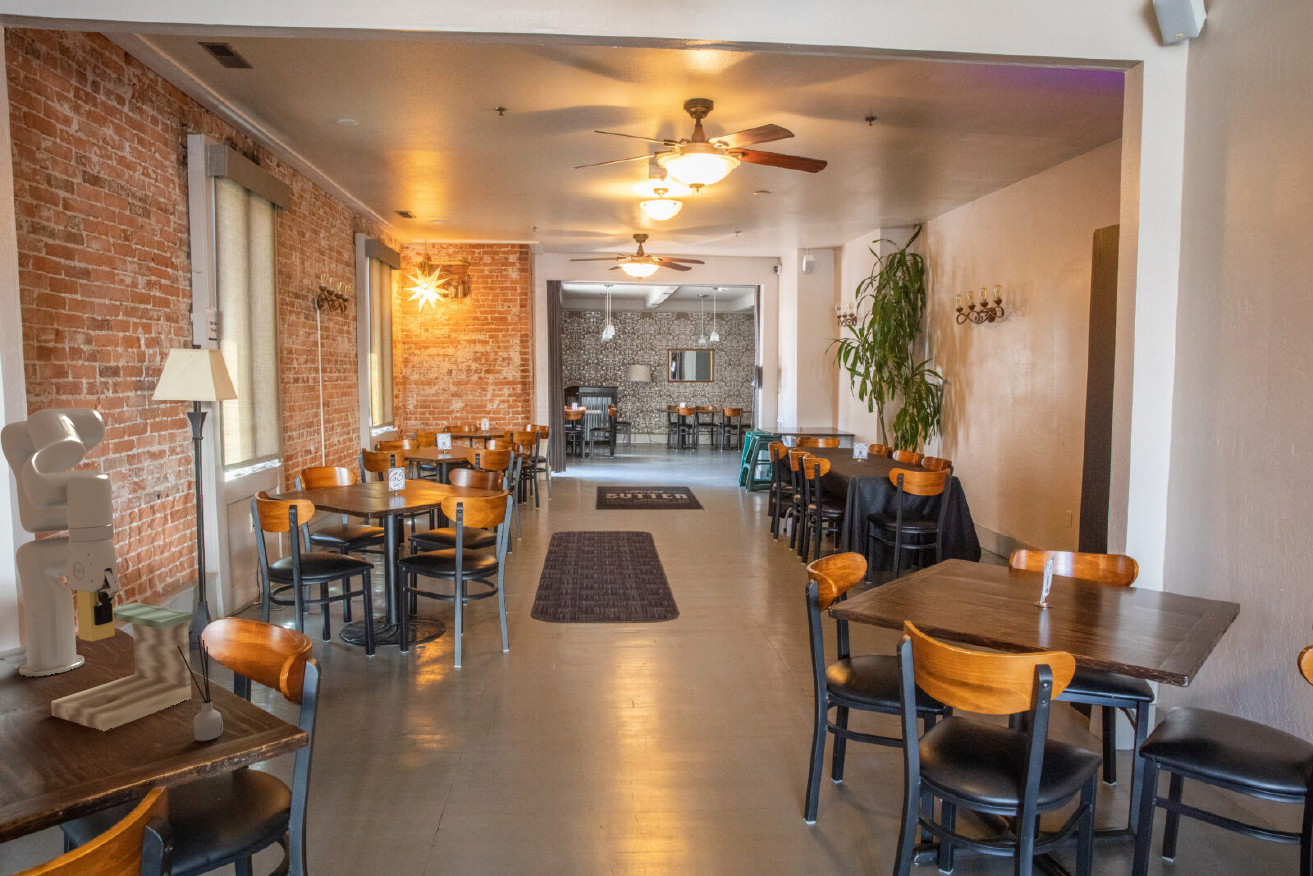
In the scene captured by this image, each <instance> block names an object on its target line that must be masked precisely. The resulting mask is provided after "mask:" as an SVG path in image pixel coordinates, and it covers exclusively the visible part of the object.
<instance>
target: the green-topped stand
mask: <svg viewBox="0 0 1313 876" xmlns="http://www.w3.org/2000/svg"><path fill="white" fill-rule="evenodd" d="M113 612H114V621H115V620H116V621H120V622H125V623H129V624H132V635H133V636H132V639H133V640H132V641H133V660H134V674H131V675H129V676H126V677H122V678H119V679H117V680H112V681H111V682H108V683H105V684H104V683H103V684H101V685H98V686H94V687H91V688H89V689H85V690H82V691H79V692H76V693H73V694H70V695H67V696H63V697H60V698H57V699H55V700H52V701H50V706H51V716H52V717H56V718H59V719H62V720H66V721H69V722H73V723H76V724H78V723H79V724H78V725H80V726H85V727H88V728H92V729H94V728H96V729H95V730H97V729H99V730H98V731H101V730H102V731H101V732H106V730H107V731H109V730H108V729H110V728H112V729H115V728H117V727H120V726H123V725H125V723H126V724H128V723H131V722H133V721H136V720H139V719H141V718H143V717H147V716H150V715H153V714H154V713H157V711H158V712H160V711H164V710H166V709H168V707H169V708H171V707H173V706H172V705H174V706H176V704H177V705H179V704H181V703H180V702H182V701H184V700H187V701H190V700H192V683H191V678H192V676H191V673H190V671H189V669H188V667H187V665H186V663H185V661H184V659H183V657H182V655H181V653H180V651H179V649H178V647H177V646H179V647H180V649H181V651H182V653H183V655H184V657H185V659H186V661H187V663H188V665H189V667H190V668H191V661H190V659H191V658H190V657H191V656H190V641H189V640H190V639H189V637H190V635H189V622H191V621H194V613H193V612H188V611H182V610H179V609H178V610H177V609H172V608H167V607H162V606H161V607H160V606H155V605H152V604H151V605H149V604H145V603H140V602H133V603H129V604H124V605H120V606H116V607H113ZM189 699H190V700H189ZM178 703H179V704H178ZM182 703H183V702H182ZM170 706H171V707H170ZM165 708H166V709H165ZM159 710H160V711H159ZM149 714H150V715H149ZM110 730H111V729H110Z"/></svg>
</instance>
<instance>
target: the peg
mask: <svg viewBox="0 0 1313 876" xmlns="http://www.w3.org/2000/svg"><path fill="white" fill-rule="evenodd" d="M101 589H106V586H102V587H101ZM101 589H99V590H101ZM76 591H77V594H76V606H77V608H76V609H77V621H78V622H77V624H78V638H79V640H83V641H87V642H95V641H99V640H103V639H106V638H110V637H113V636H115V635H116V633H115V632H116V631H115V620H114V612H113V608H114V602H113V603H112V614H113V621H112V622H110V623H106V624H102V625H95V619H94V606H97V605H96V602H95V596H94V592H92V593H91V592H84V591H78V590H76ZM104 593H106V592H101V593H100V595H101V597H102V595H103V594H104Z"/></svg>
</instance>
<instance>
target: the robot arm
mask: <svg viewBox="0 0 1313 876" xmlns="http://www.w3.org/2000/svg"><path fill="white" fill-rule="evenodd" d="M105 435H106V423H105V420H104V418H103V416H102V415H101V413H99V411H97V410H96V409H94V408H90V407H89V408H88V407H72V408H71V407H69V408H68V407H66V408H63V407H62V408H61V407H60V408H43V409H40V410H37V411H35V412H33V413H31V414H30V415H29V416H28V418H27V419H26V420H23V421H22V420H21V421H16V422H15V421H14V422H10V423H8V424H6V425H5V426H3V427H2V429H1V430H0V445H1V449H2V453H3V455H4V457H5V460H6V461H7V463H8V465H9V467H10V468H11V470H12V472H13V475H14V477H15V484H16V493H17V502H18V503H17V504H18V512H19V520H20V523H21V527H22V529H23V530H24V531H25V532H27V533H30V534H46V533H53V532H54V533H55V532H63V531H68V535H66V536H65V535H64V536H55V537H46V538H45V537H44V538H40V539H39V538H38V539H35V540H30V541H27V542H25V543H23V544H22V545H21V546H19V548H18V549H17V550H16V553H15V563H16V566H17V570H18V575H19V578H20V579H19V580H20V583H21V590H22V600H23V602H22V603H23V614H24V617H23V619H24V630H25V631H24V633H25V634H24V635H25V648H26V651H24V655H25V657H26V663H24V664H22V665H21V666H20V668H19V669H18V670H19V675H21V676H23V675H25V676H24V677H32V676H34V677H43V676H44V677H46V676H51V674H53V675H56V674H55V673H58V674H62V673H66V672H68V671H71V669H72V670H75V669H77V668H79V667H81V666H82V665H83V664H84V663H85V657H84V656H83V655H81V654H77V644H76V643H77V641H76V624H75V623H76V621H75V607H74V605H75V604H74V595H73V591H72V590H74V592H75V594H76V595H77V591H76V590H78V591H84V592H91V593H92V592H94V596H95V602H96V605H97V606H94V619H95V625H102V624H106V623H110V622H112V621H113V614H112V603H113V604H114V598H115V596H116V595H117V594H118V593H119V587H118V581H119V579H118V575H119V573H118V563H117V555H116V549H115V545H114V541H113V540H115V533H114V515H113V496H112V495H113V494H112V492H113V491H112V490H113V487H112V485H113V484H112V480H111V477H110V476H109V475H108V474H106V472H104V471H103V470H98V469H87V470H70V469H73V468H75V467H76V466H78V465H80V463H81V462H82V461H83V460H84V458H85V455H86V454H87V453H89V452H91V451H92V450H93V449H95V448H96V447H97V446H98V445H99V444H100V443H102V441H103V440H104V438H105ZM68 470H70V471H68ZM61 577H66V584H65V583H63V582H62V581H60V580H59V578H61ZM102 586H106V589H101V587H102ZM99 589H101V590H99ZM101 592H106V593H104V594H103V595H102V597H101V595H100V593H101ZM74 668H75V669H74ZM45 675H46V676H45Z"/></svg>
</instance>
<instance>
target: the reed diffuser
mask: <svg viewBox="0 0 1313 876" xmlns="http://www.w3.org/2000/svg"><path fill="white" fill-rule="evenodd" d="M197 640H198V648H199V655H200V663H201V668H202V669H201V670H202V676H203V677H202V678H203V683H204V691H205V696H204V693H203V692H202V690H201V688H200V686H199V683H198V682H197V679H196V678H195V676H194V674H193V671H192V669H191V666H190V667H189V665H188V663H187V661H186V659H185V657H184V655H183V653H182V651H181V649H180V647H179V646H177V647H178V649H179V651H180V653H181V655H182V657H183V659H184V661H185V663H186V665H187V667H188V669H189V671H190V676H191V678H192V679H193V680H194V683H195V685H196V688H197V689H198V691H199V693H200V695H201V697H202V701H201V703H200V704H201V705H200V707H201V710H200V712H198V714H196V715H195V716H194V719H193V721H192V722H193V735H194V739H195V740H196V741H203V742H205V741H208V740H209V741H210V740H213V739H216V738H219V736H221V735H222V733H223V723H224V722H223V719H222V714H221V712H219V711H218V710H216V709H214V707H213V700H212V699H211V694H210V684H209V646H208V645H205V639H202V645H201V640H200V634H198V635H197ZM201 646H202V647H201ZM202 648H203V651H202ZM202 652H203V653H202ZM202 654H203V655H202ZM203 656H204V658H203ZM203 659H204V660H203Z"/></svg>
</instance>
